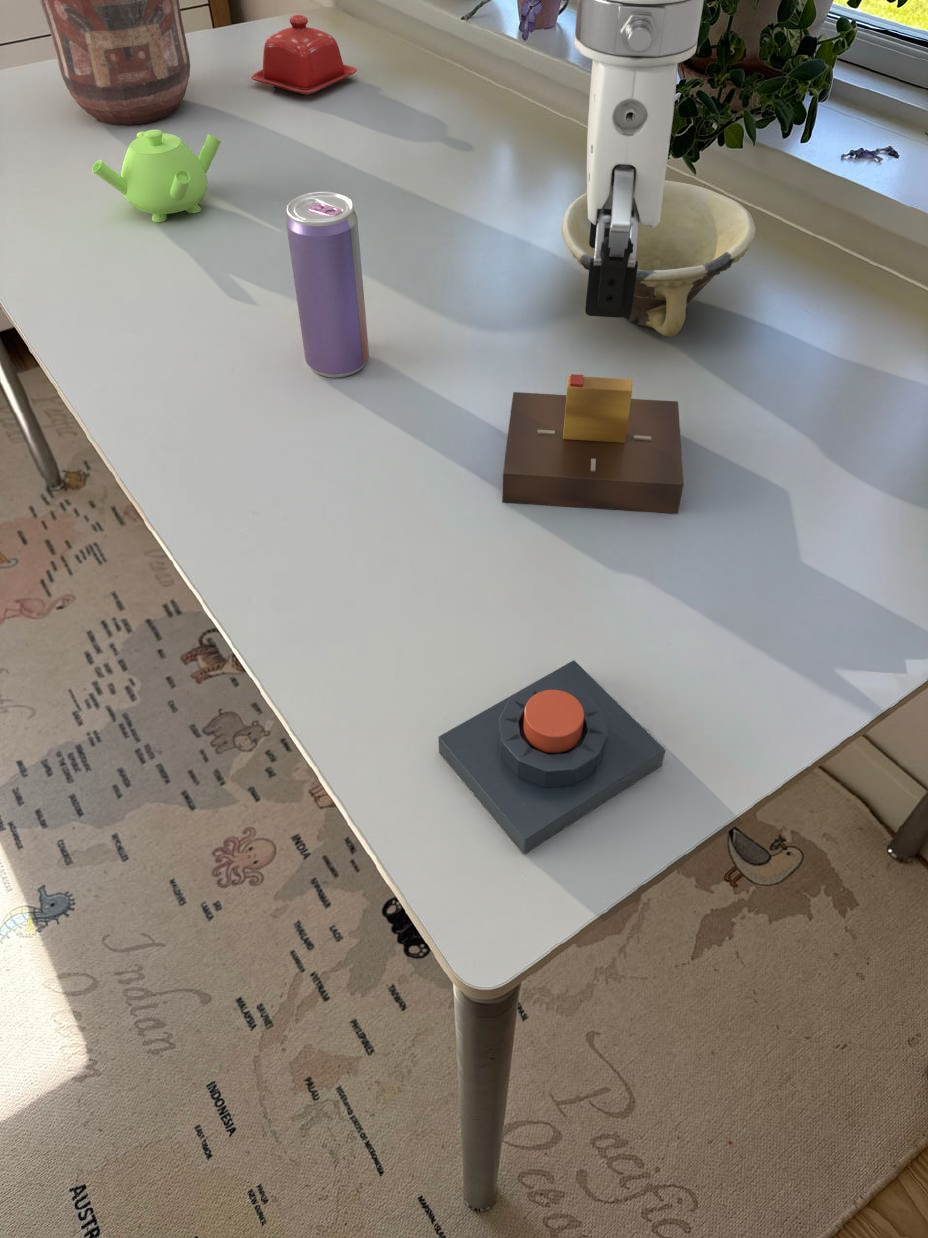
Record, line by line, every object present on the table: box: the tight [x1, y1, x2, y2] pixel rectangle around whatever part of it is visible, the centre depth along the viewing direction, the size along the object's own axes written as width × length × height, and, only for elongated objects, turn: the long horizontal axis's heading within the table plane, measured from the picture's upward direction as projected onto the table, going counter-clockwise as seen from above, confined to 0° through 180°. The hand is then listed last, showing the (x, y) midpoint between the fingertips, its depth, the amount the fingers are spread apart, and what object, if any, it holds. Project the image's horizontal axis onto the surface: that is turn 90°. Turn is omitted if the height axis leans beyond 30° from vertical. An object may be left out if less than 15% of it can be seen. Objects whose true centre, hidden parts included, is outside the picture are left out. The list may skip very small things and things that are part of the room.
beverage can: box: [285, 191, 370, 379], centre depth 89 cm, size 6×6×15 cm
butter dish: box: [250, 14, 358, 96], centre depth 139 cm, size 12×12×8 cm
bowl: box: [561, 179, 756, 337], centre depth 97 cm, size 18×18×10 cm
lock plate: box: [501, 391, 684, 514], centre depth 83 cm, size 14×11×3 cm
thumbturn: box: [563, 373, 633, 443], centre depth 80 cm, size 5×2×5 cm, turn 84°
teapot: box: [91, 129, 222, 223], centre depth 113 cm, size 11×12×8 cm
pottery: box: [39, 0, 191, 126], centre depth 130 cm, size 18×18×18 cm
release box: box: [437, 659, 666, 855], centre depth 63 cm, size 11×9×4 cm
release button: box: [523, 690, 584, 753], centre depth 61 cm, size 4×4×2 cm
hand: (608, 279), depth 74 cm, fingers open, 9 cm apart
